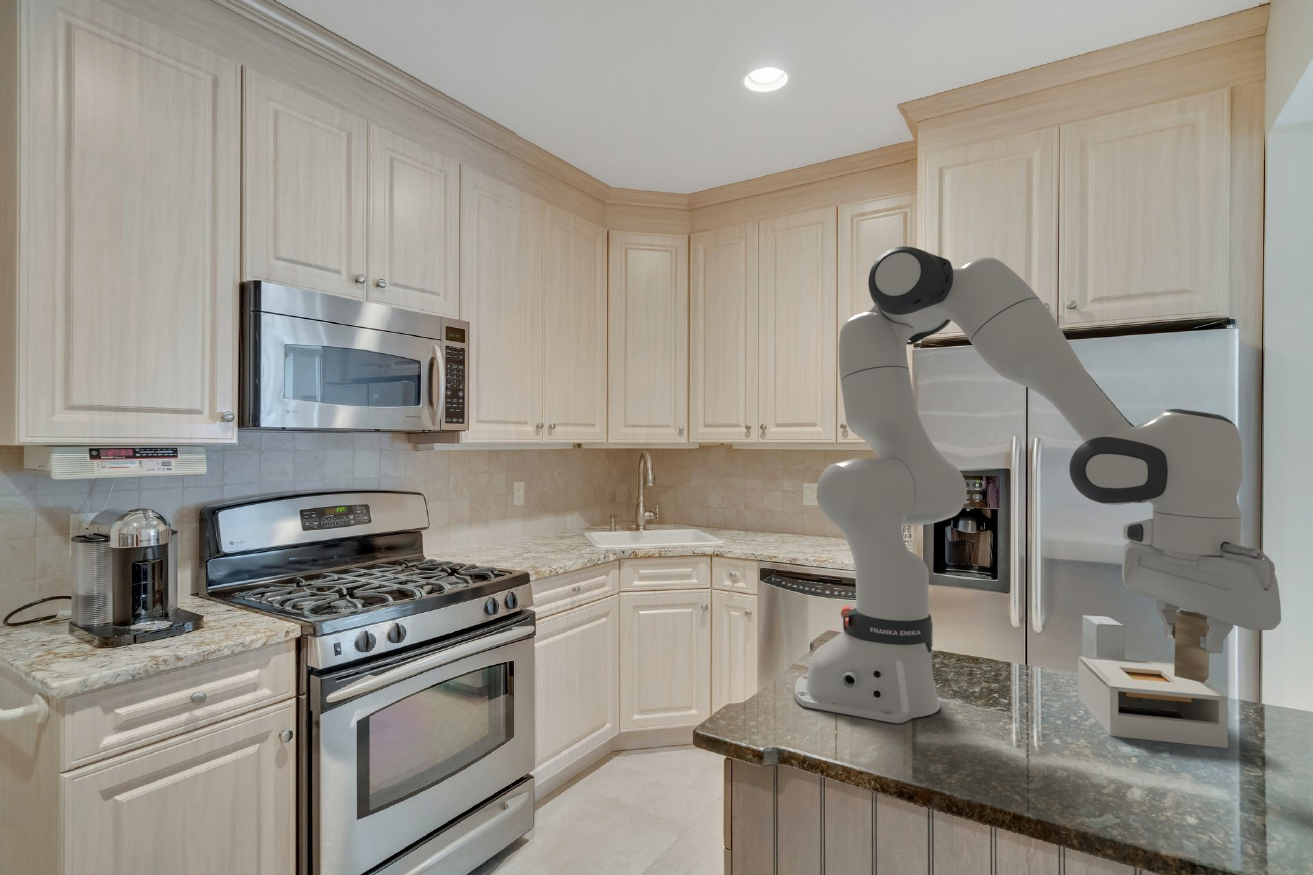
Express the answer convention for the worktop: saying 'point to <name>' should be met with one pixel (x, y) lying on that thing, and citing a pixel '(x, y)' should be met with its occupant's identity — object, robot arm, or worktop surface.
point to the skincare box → (1102, 638)
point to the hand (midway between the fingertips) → (1192, 644)
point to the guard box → (1104, 694)
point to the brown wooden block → (1191, 646)
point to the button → (1151, 697)
